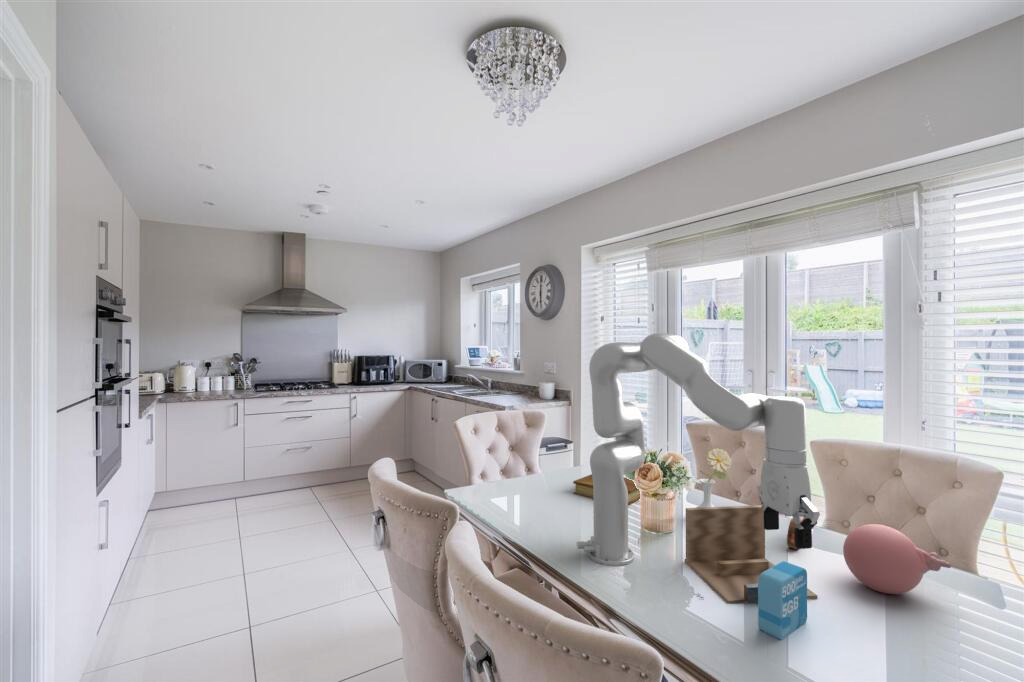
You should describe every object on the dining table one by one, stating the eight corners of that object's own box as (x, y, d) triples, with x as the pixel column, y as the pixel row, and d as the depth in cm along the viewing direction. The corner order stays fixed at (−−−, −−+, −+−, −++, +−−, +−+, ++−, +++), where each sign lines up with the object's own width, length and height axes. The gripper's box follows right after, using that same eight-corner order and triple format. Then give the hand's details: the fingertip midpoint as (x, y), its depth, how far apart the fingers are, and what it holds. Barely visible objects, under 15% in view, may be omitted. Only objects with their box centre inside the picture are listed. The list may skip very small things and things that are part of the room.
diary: (648, 496, 185) (648, 481, 185) (625, 508, 171) (625, 492, 171) (598, 484, 200) (598, 471, 201) (573, 495, 187) (573, 480, 187)
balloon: (952, 624, 100) (952, 551, 100) (839, 591, 113) (839, 527, 113) (950, 595, 112) (950, 530, 112) (847, 568, 125) (847, 510, 125)
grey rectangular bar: (748, 600, 107) (748, 587, 107) (744, 597, 109) (744, 584, 109) (800, 597, 109) (800, 584, 109) (796, 594, 110) (796, 581, 110)
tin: (798, 535, 146) (797, 508, 146) (809, 538, 144) (809, 511, 144) (785, 551, 135) (785, 522, 135) (798, 554, 133) (798, 525, 133)
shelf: (728, 605, 107) (728, 539, 107) (684, 562, 128) (684, 507, 128) (817, 599, 110) (817, 535, 110) (760, 558, 130) (760, 504, 131)
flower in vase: (688, 525, 154) (688, 449, 154) (689, 514, 165) (689, 442, 165) (732, 531, 149) (732, 453, 149) (730, 519, 160) (730, 445, 160)
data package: (780, 643, 94) (780, 583, 94) (757, 632, 97) (757, 574, 97) (807, 623, 100) (807, 566, 101) (785, 613, 104) (785, 558, 104)
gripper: (743, 448, 107) (745, 523, 107) (797, 467, 90) (799, 557, 89) (774, 447, 108) (776, 522, 107) (834, 465, 90) (835, 555, 90)
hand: (786, 538), depth 98 cm, fingers open, 9 cm apart
